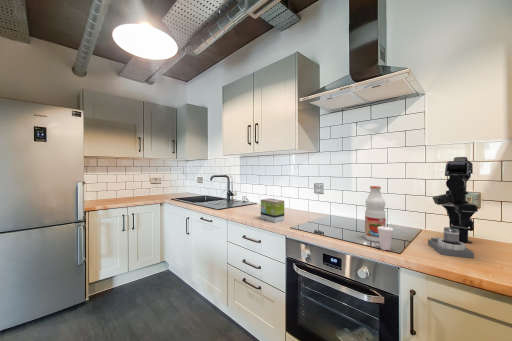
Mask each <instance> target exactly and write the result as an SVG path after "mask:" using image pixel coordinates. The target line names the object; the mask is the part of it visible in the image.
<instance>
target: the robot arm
mask: <svg viewBox="0 0 512 341" xmlns="http://www.w3.org/2000/svg"><path fill="white" fill-rule="evenodd" d="M473 164H474V163H472V162H471V161H470V160H468V156H467V157H466V156H455V157H454V158H453V160H449V161H448V162H447V163H445V170H444V176H445V177H449V178H448V179H447V180H446V181H445V186H446V187H447V188H448V190H446V191H445V193H444V194H440V195H436V196H432V200H433V202H434V204H435V205H437V206H441V207H442V208H444V209H445V211H446V213H447V217H448V220H449V222H448V223H449V226H448V227H451V228H456V229H459V242H462V243H469V244H472V241H471V240H469V231H470V232H472V231H473V232H474V228H475V226H474V225H475V224H474V222H475V221H473V219H472V217H473V215H474V214H476V212H478V210H479V209H478V208H479V207H478V206H477V205H476V204H474V203H469V201H468V200H467V195H469V192H468V191H467V186H468V185H467V184H468V183H467V182H468V181H469V180H470V179H471V178H472V175H473V174H474V173H473V171H474V168H473V166H474V165H473Z"/></svg>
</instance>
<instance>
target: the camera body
mask: <svg viewBox="0 0 512 341" xmlns="http://www.w3.org/2000/svg"><path fill="white" fill-rule="evenodd" d="M427 245H428V246H430V247H431V248H432V249H434V251H436V252H437V253H439V255H441V256H449V257H451V256H452V257H459V258H467V259H468V258H469V259H474V258H475V255H474V254H475V252H474V251H472V250H470V249H469V248H467V247H466V243H465V242H459V245H454V244H448V243H445V242H444V237H443V238H441V237H432V236H431V237H430V239H429V238H428V239H427Z"/></svg>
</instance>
